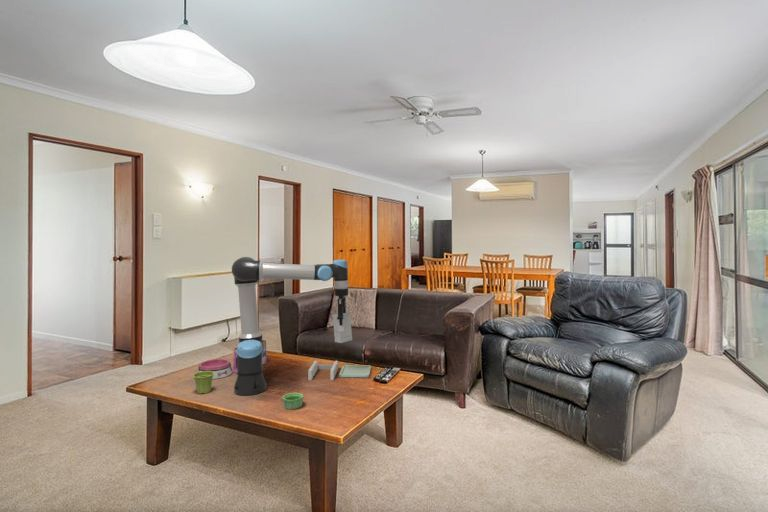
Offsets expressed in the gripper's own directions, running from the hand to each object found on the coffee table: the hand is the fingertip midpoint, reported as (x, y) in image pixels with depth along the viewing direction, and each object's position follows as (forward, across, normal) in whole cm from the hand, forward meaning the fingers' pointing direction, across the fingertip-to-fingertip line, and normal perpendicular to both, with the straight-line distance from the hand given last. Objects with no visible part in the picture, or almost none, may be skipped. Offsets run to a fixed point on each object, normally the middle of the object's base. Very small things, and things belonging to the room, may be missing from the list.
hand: (342, 329), depth 229 cm
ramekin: (+24, -45, +17) cm, 54 cm away
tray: (+25, +1, -6) cm, 25 cm away
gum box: (+24, +12, +56) cm, 62 cm away
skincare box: (+7, 0, 0) cm, 7 cm away
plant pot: (+23, -28, +65) cm, 74 cm away
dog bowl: (+24, -1, +71) cm, 75 cm away
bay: (+24, -1, +11) cm, 27 cm away
